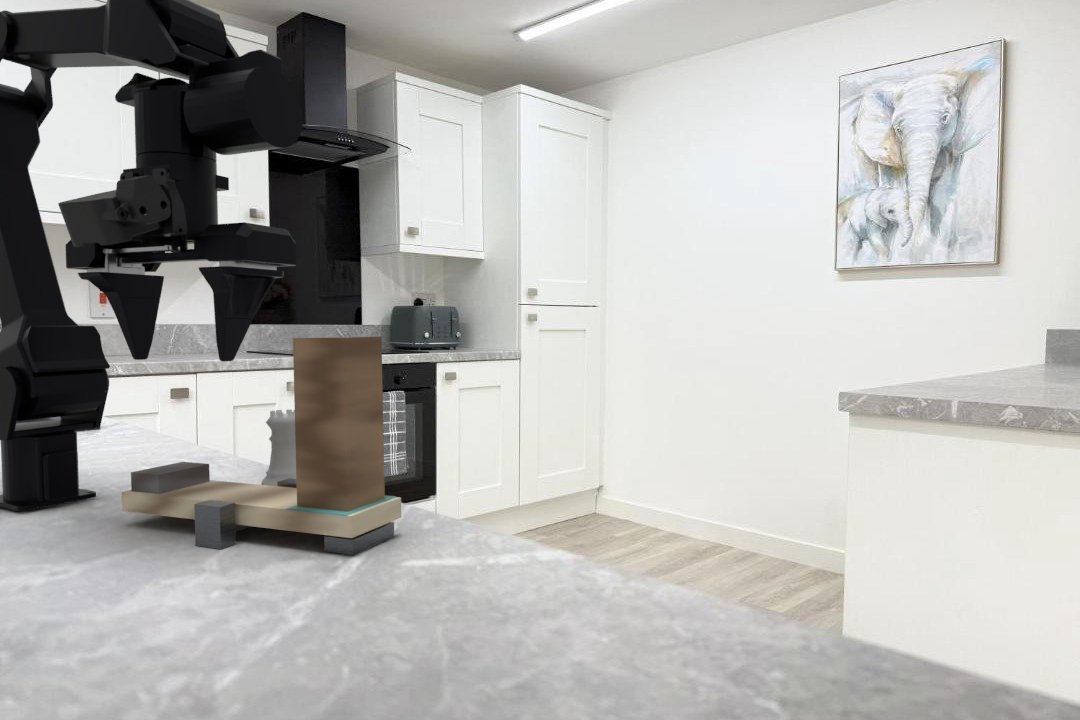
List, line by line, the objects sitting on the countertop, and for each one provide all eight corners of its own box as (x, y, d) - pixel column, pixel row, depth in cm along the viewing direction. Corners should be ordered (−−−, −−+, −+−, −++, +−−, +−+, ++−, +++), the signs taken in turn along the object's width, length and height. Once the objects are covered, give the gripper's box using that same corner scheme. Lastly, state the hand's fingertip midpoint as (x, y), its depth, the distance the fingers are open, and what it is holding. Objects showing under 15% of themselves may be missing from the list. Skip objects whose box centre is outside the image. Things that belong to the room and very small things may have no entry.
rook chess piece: (296, 505, 67) (294, 414, 67) (250, 503, 68) (248, 413, 68) (320, 494, 71) (319, 408, 71) (277, 492, 72) (275, 407, 72)
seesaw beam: (122, 520, 60) (120, 473, 60) (184, 503, 66) (183, 460, 66) (351, 549, 52) (350, 494, 52) (401, 527, 57) (400, 477, 57)
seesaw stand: (195, 545, 55) (194, 504, 55) (289, 513, 64) (289, 478, 64) (330, 565, 50) (329, 520, 50) (411, 528, 59) (411, 489, 59)
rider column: (297, 506, 54) (292, 338, 54) (336, 493, 58) (332, 336, 58) (348, 511, 53) (344, 337, 52) (384, 498, 57) (381, 336, 56)
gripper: (-8, 150, 56) (0, 363, 57) (180, 123, 49) (186, 368, 49) (127, 177, 66) (132, 357, 67) (299, 157, 59) (303, 360, 60)
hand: (182, 360), depth 60 cm, fingers open, 9 cm apart
